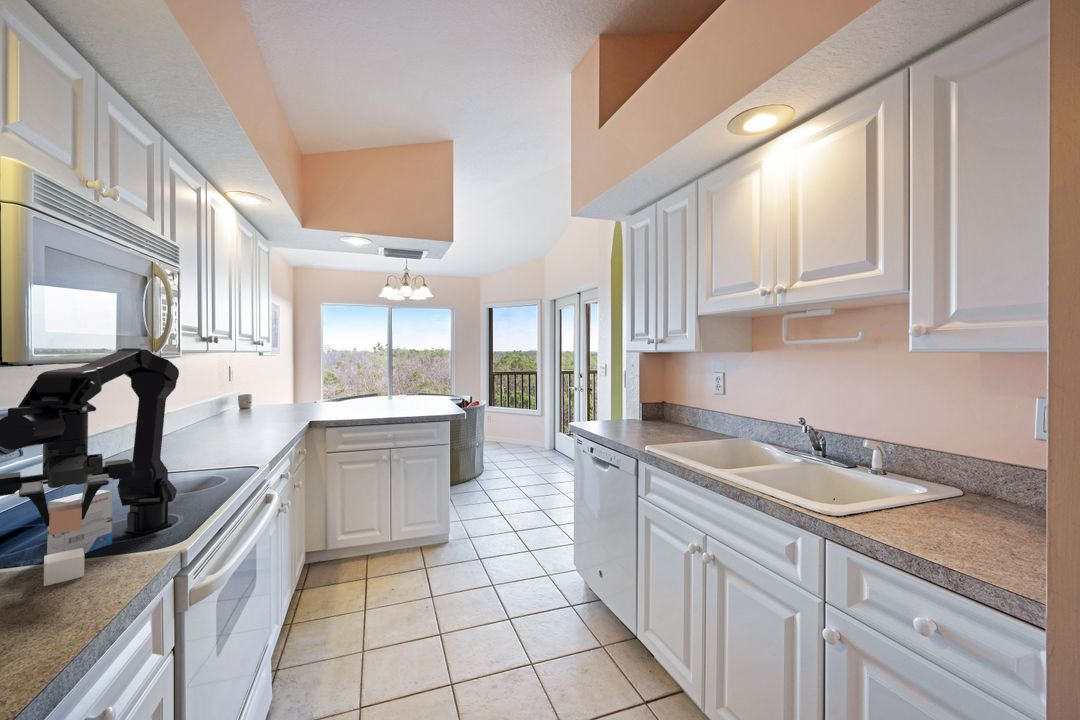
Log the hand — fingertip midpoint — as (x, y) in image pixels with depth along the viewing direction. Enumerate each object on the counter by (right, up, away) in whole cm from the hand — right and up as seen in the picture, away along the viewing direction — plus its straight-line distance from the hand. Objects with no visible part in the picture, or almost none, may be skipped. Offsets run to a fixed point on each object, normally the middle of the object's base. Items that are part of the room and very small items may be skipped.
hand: (65, 522), depth 83 cm
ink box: (-8, -10, +10) cm, 17 cm away
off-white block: (0, -10, 0) cm, 10 cm away
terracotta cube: (0, -1, 0) cm, 1 cm away
